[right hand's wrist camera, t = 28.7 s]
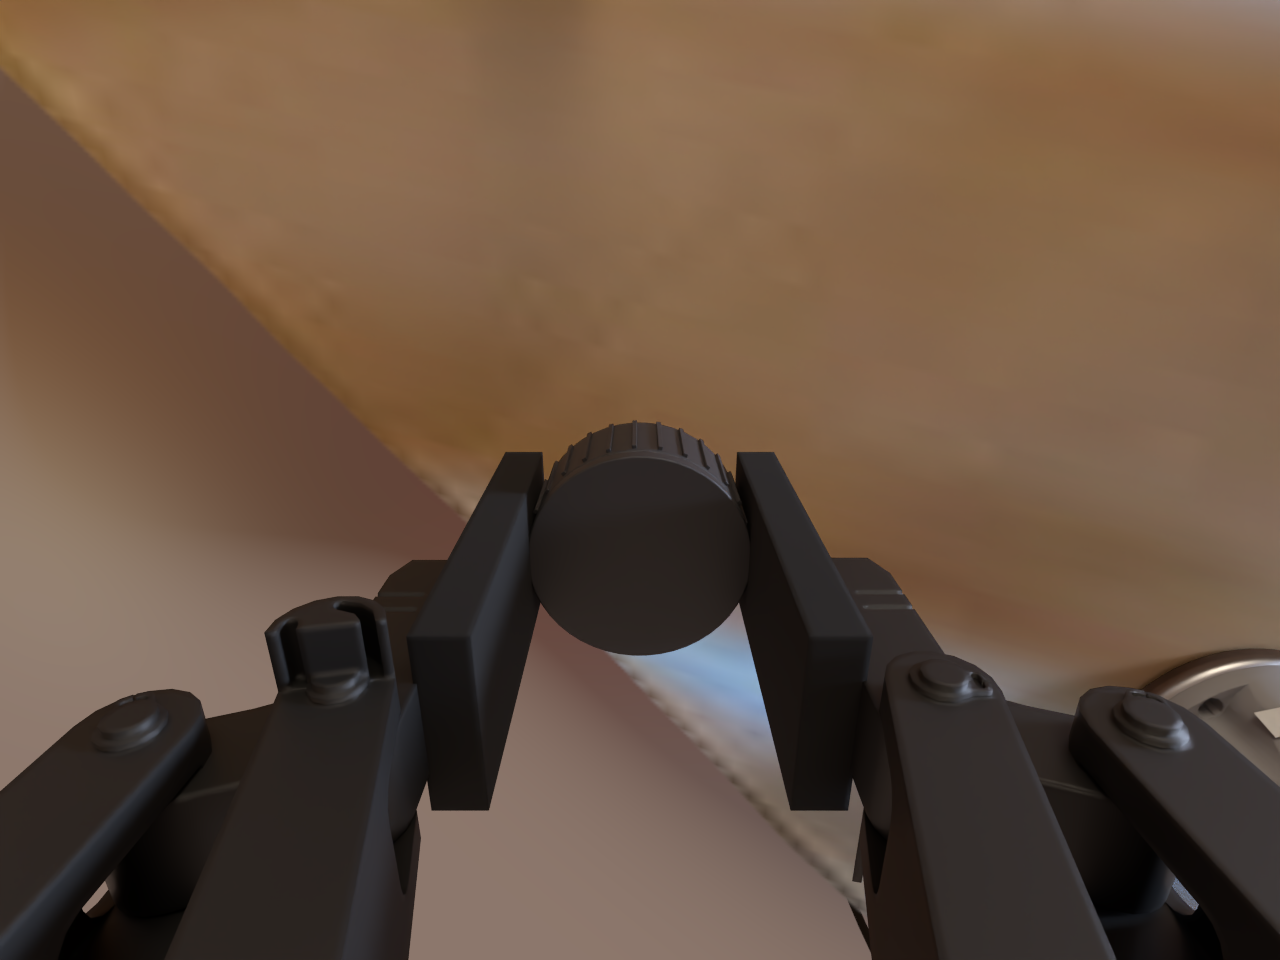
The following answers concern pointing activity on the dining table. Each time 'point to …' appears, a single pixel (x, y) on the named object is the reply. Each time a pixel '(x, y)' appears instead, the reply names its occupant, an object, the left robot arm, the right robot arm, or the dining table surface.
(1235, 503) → the dining table surface
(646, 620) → the cap
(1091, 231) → the dining table surface
